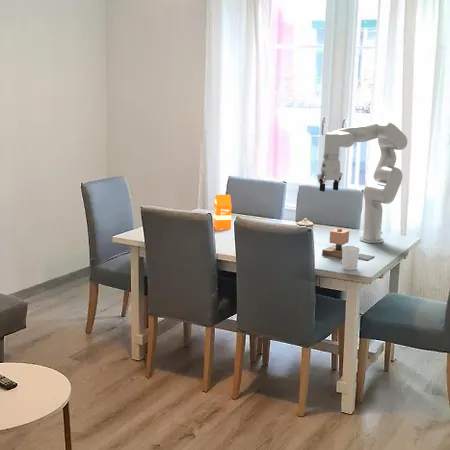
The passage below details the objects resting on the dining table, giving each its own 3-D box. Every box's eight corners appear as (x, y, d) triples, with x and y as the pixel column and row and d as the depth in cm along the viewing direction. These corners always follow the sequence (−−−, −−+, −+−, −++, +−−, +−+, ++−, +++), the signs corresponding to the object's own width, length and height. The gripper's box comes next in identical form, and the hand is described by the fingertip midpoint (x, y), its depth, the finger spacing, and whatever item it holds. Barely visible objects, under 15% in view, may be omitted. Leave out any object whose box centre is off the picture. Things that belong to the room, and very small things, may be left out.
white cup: (339, 266, 331) (340, 245, 329) (355, 265, 332) (356, 245, 329) (343, 270, 323) (344, 249, 321) (359, 270, 324) (361, 249, 322)
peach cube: (335, 240, 354) (336, 226, 352) (348, 242, 350) (349, 228, 348) (329, 242, 348) (330, 229, 346) (342, 245, 344) (343, 231, 342)
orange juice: (213, 227, 406) (213, 193, 402) (227, 226, 408) (228, 193, 404) (216, 230, 399) (216, 196, 394) (231, 229, 401) (232, 195, 397)
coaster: (359, 254, 352) (359, 253, 352) (374, 257, 347) (374, 256, 347) (352, 257, 346) (352, 256, 346) (367, 260, 341) (367, 259, 341)
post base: (333, 250, 358) (334, 230, 356) (354, 254, 352) (355, 233, 349) (322, 255, 349) (323, 234, 346) (343, 259, 342) (345, 238, 340)
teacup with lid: (307, 242, 376) (308, 221, 373) (293, 239, 381) (294, 218, 378) (318, 238, 385) (319, 217, 383) (304, 235, 390) (305, 215, 388)
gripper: (324, 158, 343) (322, 192, 347) (348, 157, 354) (345, 190, 357) (313, 157, 349) (311, 190, 353) (337, 155, 360) (335, 188, 363)
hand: (328, 190), depth 355 cm, fingers open, 9 cm apart
